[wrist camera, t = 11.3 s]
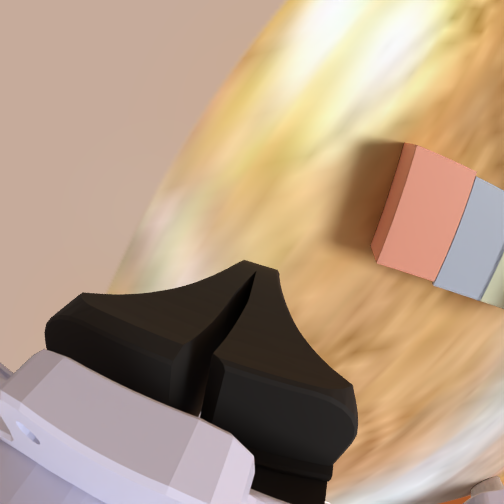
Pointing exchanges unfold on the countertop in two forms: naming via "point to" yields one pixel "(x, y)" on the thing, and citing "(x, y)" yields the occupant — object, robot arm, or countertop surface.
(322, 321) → the countertop surface
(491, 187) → the slate book
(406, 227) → the terracotta book
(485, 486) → the house plant
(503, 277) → the sage book
